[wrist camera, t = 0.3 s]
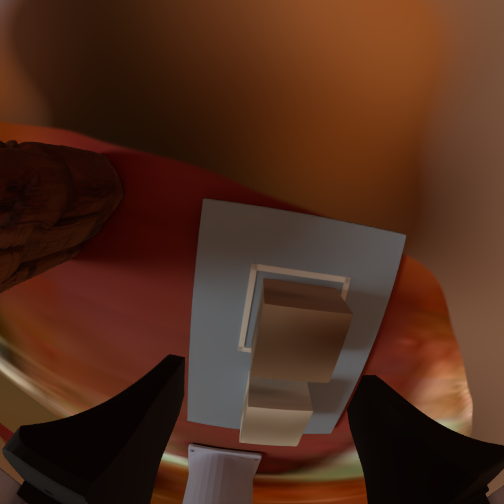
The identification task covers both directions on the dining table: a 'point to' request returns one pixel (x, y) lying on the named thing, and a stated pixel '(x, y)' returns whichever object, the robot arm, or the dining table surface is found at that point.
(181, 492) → the dining table surface
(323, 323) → the walnut base block
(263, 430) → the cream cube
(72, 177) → the wooden figurine
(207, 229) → the mat
